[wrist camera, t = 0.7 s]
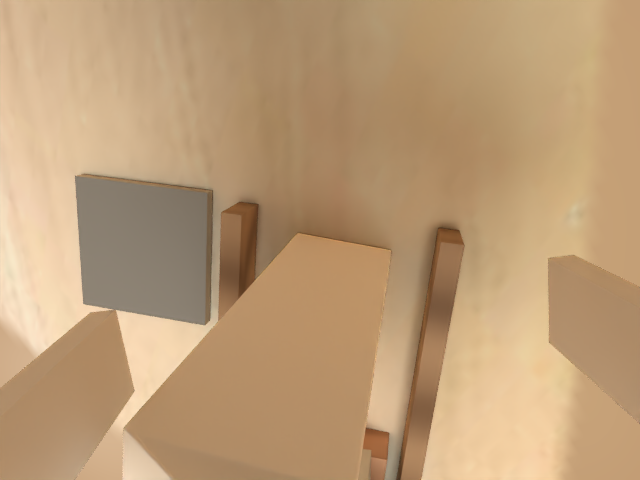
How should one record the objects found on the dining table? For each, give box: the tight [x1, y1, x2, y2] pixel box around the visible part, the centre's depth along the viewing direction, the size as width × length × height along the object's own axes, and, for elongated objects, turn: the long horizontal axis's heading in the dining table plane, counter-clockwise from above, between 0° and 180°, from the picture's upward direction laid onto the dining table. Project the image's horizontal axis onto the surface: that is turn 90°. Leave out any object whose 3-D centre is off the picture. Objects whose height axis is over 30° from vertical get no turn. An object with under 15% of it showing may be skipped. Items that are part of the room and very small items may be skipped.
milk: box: [123, 233, 392, 480], centre depth 20 cm, size 6×6×22 cm
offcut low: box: [363, 428, 389, 480], centre depth 33 cm, size 4×9×3 cm, turn 84°
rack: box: [218, 202, 464, 480], centre depth 29 cm, size 20×13×5 cm
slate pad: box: [75, 174, 213, 325], centre depth 31 cm, size 9×9×1 cm
